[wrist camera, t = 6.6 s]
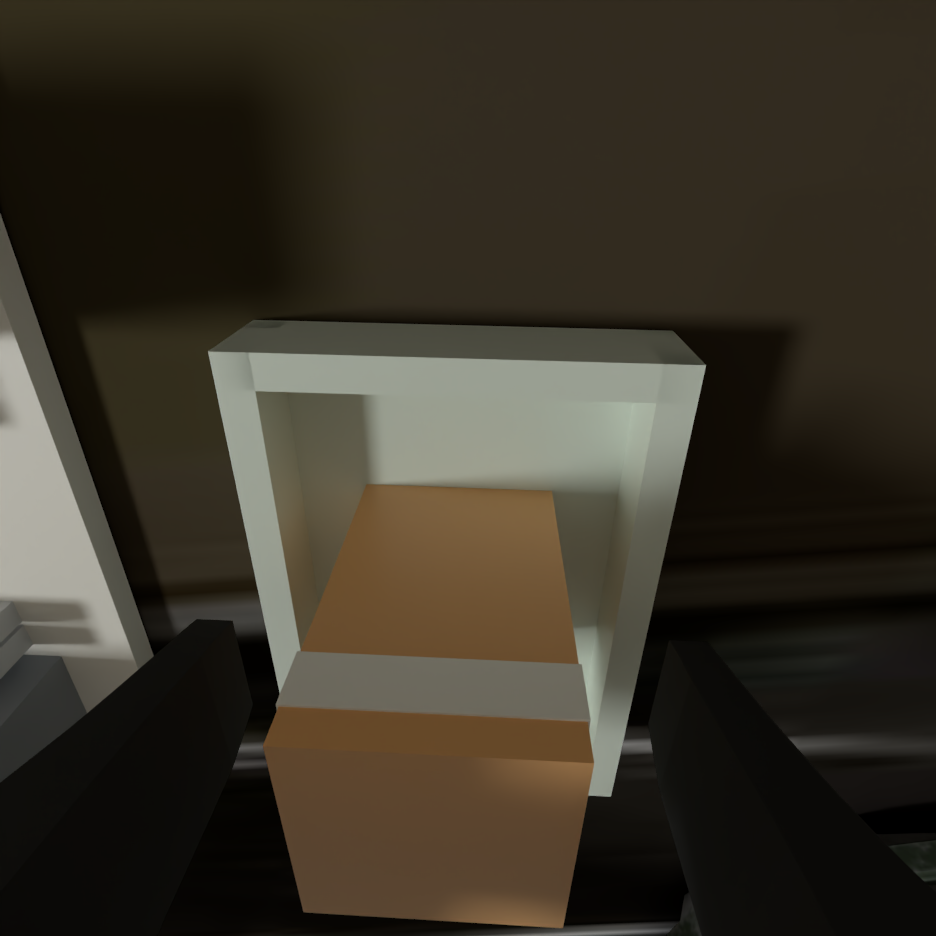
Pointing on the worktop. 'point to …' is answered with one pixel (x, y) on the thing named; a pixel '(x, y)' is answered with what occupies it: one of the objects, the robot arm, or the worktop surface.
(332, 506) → the tray
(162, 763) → the robot arm
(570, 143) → the worktop surface
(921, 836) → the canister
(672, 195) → the worktop surface
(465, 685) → the block
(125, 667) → the panel
